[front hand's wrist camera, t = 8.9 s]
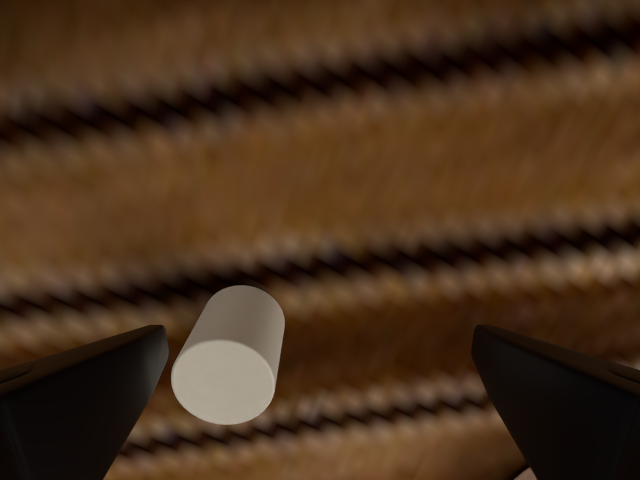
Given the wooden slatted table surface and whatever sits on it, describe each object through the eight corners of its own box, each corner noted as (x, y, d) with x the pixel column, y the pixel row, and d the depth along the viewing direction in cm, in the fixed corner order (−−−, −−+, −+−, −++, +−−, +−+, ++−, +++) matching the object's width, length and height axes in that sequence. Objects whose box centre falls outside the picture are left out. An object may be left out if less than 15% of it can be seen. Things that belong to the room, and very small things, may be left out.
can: (250, 369, 21) (232, 441, 16) (187, 324, 20) (149, 388, 16) (301, 318, 20) (296, 381, 15) (236, 268, 19) (211, 320, 15)
